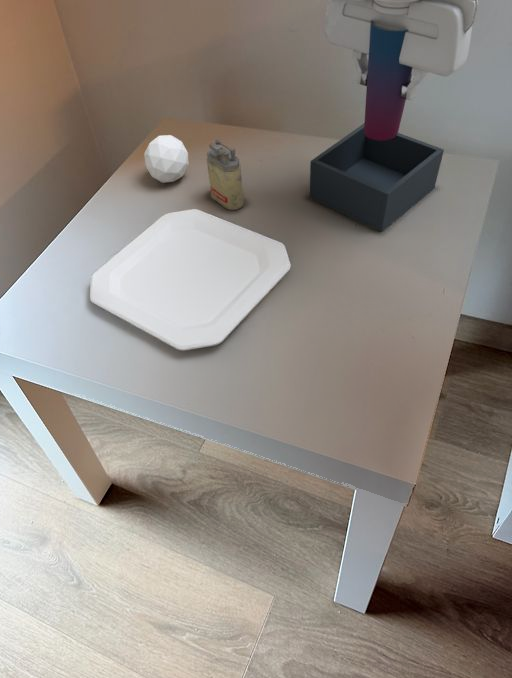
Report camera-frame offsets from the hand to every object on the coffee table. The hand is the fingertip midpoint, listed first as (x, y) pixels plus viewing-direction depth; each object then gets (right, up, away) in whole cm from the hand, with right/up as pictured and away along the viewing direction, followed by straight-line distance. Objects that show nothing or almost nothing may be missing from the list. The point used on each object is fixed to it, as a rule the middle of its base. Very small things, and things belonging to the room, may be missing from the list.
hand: (385, 90), depth 76 cm
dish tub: (+2, -10, +13) cm, 17 cm away
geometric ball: (-33, -4, +22) cm, 40 cm away
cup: (+1, -4, +5) cm, 6 cm away
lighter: (-22, -10, +16) cm, 29 cm away
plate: (-28, -26, +5) cm, 39 cm away
